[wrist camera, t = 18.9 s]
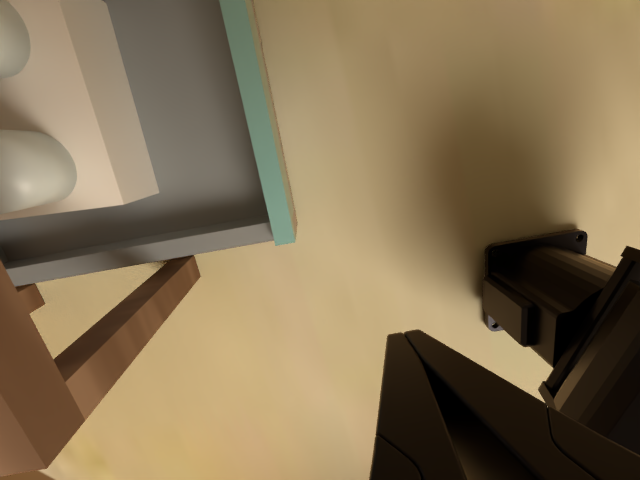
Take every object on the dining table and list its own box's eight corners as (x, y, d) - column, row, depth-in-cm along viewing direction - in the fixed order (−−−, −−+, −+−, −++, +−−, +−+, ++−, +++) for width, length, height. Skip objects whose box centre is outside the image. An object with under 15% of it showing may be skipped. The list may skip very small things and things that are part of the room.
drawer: (231, -107, 14) (203, -200, 10) (297, 222, 19) (295, 242, 15) (-145, -36, 14) (-308, -100, 11) (15, 272, 19) (-57, 304, 15)
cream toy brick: (106, 3, 14) (-26, -90, 9) (159, 192, 17) (85, 217, 11) (-21, 19, 14) (-236, -64, 9) (53, 206, 17) (-75, 237, 11)
